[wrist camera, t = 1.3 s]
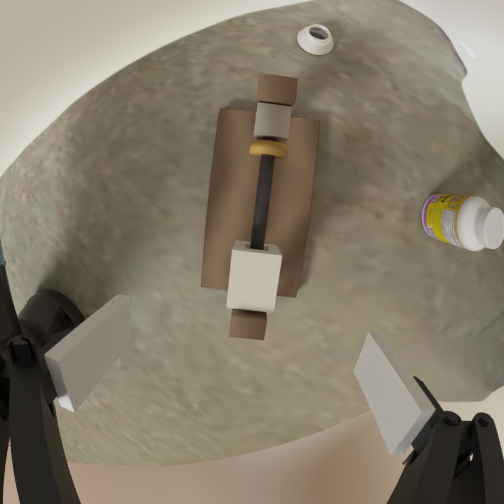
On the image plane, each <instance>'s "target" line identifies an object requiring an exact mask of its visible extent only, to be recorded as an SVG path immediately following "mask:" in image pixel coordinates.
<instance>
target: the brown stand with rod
mask: <svg viewBox="0 0 504 504" xmlns="http://www.w3.org/2000/svg"><path fill="white" fill-rule="evenodd" d="M296 90H297V78H291V77H285V76H277V75H270V74H261V73H260V77H259V84H258V91H257V110H256V111H246V110H235V109H221V108H220V112H219V118H218V125H217V132H216V140H215V147H214V155H213V163H212V171H211V179H210V188H209V197H208V207H207V217H206V228H205V239H204V251H203V264H202V278H201V287H206V288H214V289H222V290H228V286H229V275H230V265H231V256H232V249H233V246H234V243H235V241H236V240H238V241H247V242H251V243H250V249H257V250H264V244H273V245H278V247H279V250H280V252H281V254H282V261H281V267H280V274H279V281H278V287H277V293H276V296H285V297H295V298H296V295H297V290H298V284H299V279H300V273H301V267H302V261H303V254H304V248H305V242H306V235H307V228H308V221H309V214H310V207H311V199H312V192H313V184H314V175H315V167H316V158H317V148H318V138H319V128H320V121H316V120H310V119H305V118H299V117H293V116H291V109H292V106H293V104H294V102H295V100H296ZM266 324H267V314H266V312H262V311H253V310H244V309H235V308H233V309H232V315H231V324H230V334H229V337H237V338H246V339H256V340H264V336H265V330H266Z"/></svg>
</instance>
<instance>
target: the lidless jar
mask: <svg viewBox="0 0 504 504" xmlns="http://www.w3.org/2000/svg"><path fill="white" fill-rule="evenodd" d="M310 32H314V33H318V34H321V35H322V36H324V37H325V38H326V39H324V40H320V39H318V38H316V37H313V36H312V35H311V34H310ZM297 40H298V43H299V45H300V46H301V48H303V49H304V50H305V51H307V52H309V53H311V54H315V55H324V54H327V53H329V52H330V51H331V50H332V48H333V46H334V42H333V38H332V35H331V34H330V31H329V30H328V29H327V28H326V27H324V26H322V25H319V24H314V25H311V26H308V27H305V28H303V29H302V30H301V31H300V32H299V34H298V36H297Z"/></svg>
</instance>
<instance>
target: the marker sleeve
mask: <svg viewBox="0 0 504 504" xmlns="http://www.w3.org/2000/svg"><path fill="white" fill-rule="evenodd" d="M250 243H251V242H247V241H238V240H236V241H235V243H234V246H233V249H232V256H231V265H230V275H229V286H228V296H227V306H226V307H227V308H235V309H244V310H253V311H262V312H272V313H273V312H274V306H275V300H276V293H277V287H278V281H279V274H280V267H281V261H282V254H281V252H280V250H279V247H278V245H273V244H264V250H257V249H250Z"/></svg>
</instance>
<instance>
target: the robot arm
mask: <svg viewBox="0 0 504 504" xmlns="http://www.w3.org/2000/svg"><path fill="white" fill-rule="evenodd" d="M5 265H6V261H5V260H4V256H3V251H2V246H1V240H0V504H3V485H4V473H5V464H6V457H7V450H8V444H9V439H10V444H11V455H12V463H13V470H14V476H15V482H16V487H17V492H18V496H19V501H20V504H81V502H80V500H79V497H78V495H77V492H76V489H75V486H74V483H73V481H72V477H71V474H70V471H69V468H68V464H67V461H66V457H65V453H64V449H63V445H62V441H61V437H60V432H59V427H58V422H57V417H56V411H55V406H54V403H53V400H54V399H55V398H56V397H58V400H59V402H60V405H61V406H62V407H64V408H66V409H68V410H70V411H72V412H75V411H76V410H77V409H78V407H79V406H80V405H81V403H82V402H83V401H84V399H85V398H86V397H87V395H88V394H89V393H90V391H91V390H92V389H93V388H94V386H95V385H96V384H97V382H98V381H99V380H100V379H101V377H102V376H103V375H104V374H105V372H106V371H107V370H108V368H109V367H110V366H111V365H112V363H113V362H114V361H115V360H116V358H117V357H118V356H119V355H120V353H121V352H122V351H123V350H124V348H125V347H126V346H127V345H128V344H129V342H130V341H131V340H132V334H131V311H130V297H129V296H124V295H120V294H118V295H116V296H115V297H114V298H113V299H111V300H110V301H109V302H107V303H106V304H105V305H104V306H102V307H101V308H100V309H99V310H97V311H96V312H95V313H94V314H92V315H91V316H90V317H89V318H87V319H86V320H85V319H84V318H83V316H82V315H81V313H80V312H79V310H78V309H77V308H76V307H75V305H74V304H73V303H72V302H71V301H70V300H69V299H67V298H66V297H65V296H63V295H62V294H60V293H58V292H56V291H53V290H42V291H40V292H38V293H37V294H35V295H33V296H32V297H31V298H30V299H29V300H28V302H27V304H26V305H25V307H24V308H23V309H22V311H21V312H20V314H19V315H18V316H17V314H16V311H15V308H14V304H13V300H12V296H11V292H10V287H9V283H8V278H7V273H6V267H5ZM354 374H355V376H356V378H357V380H358V382H359V384H360V387H361V389H362V391H363V393H364V395H365V398H366V400H367V402H368V404H369V407H370V409H371V411H372V413H373V415H374V418H375V420H376V422H377V425H378V427H379V429H380V432H381V434H382V436H383V439H384V441H385V443H386V446H387V448H388V450H389V453H390V455H395V454H400V453H404V452H405V451H406V450H407V449H408V448H409V446H410V445H411V444H412V446H413V448H414V450H413V451H412V453H411V454H410V455H409V456H408V457H407V458H406V460H405V461H404V462H403V463H402V464H403V465H404V464H405V463H406V462H407V463H406V465H405V468H404V470H403V472H402V474H401V476H400V479H399V481H398V483H397V485H396V487H395V489H394V491H393V493H392V495H391V496H390V499H389V500H388V502H387V504H504V459H503V454H502V449H501V445H500V441H499V437H498V433H497V430H496V426H495V423H494V421H493V419H492V418H491V417H490V416H489V415H488V414H486V413H477V414H476V415H475V416H474V418H473V419H472V421H462V420H461V418H460V417H459V416H458V415H457V414H456V413H454V412H451V411H443V409H442V408H441V406H440V405H439V404H438V402H437V401H436V399H435V398H434V397H433V395H431V393H430V391H429V390H427V387H426V386H425V384H424V383H423V382H422V381H421V380H420V379H418V378H417V377H416V376H414V377H413V376H412V375H411V373H410V372H409V371H408V369H407V368H406V367H405V365H404V364H403V363H402V361H401V360H400V359H399V357H398V356H397V355H396V353H395V352H394V351H393V349H392V348H391V347H390V345H389V344H388V343H387V341H386V340H385V339H384V337H383V336H382V335H381V334H380V333H375V332H368V335H367V338H366V340H365V343H364V346H363V349H362V351H361V354H360V357H359V359H358V362H357V364H356V367H355V369H354ZM472 454H473V458H472V460H471V461H470V456H471V455H472Z"/></svg>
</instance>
